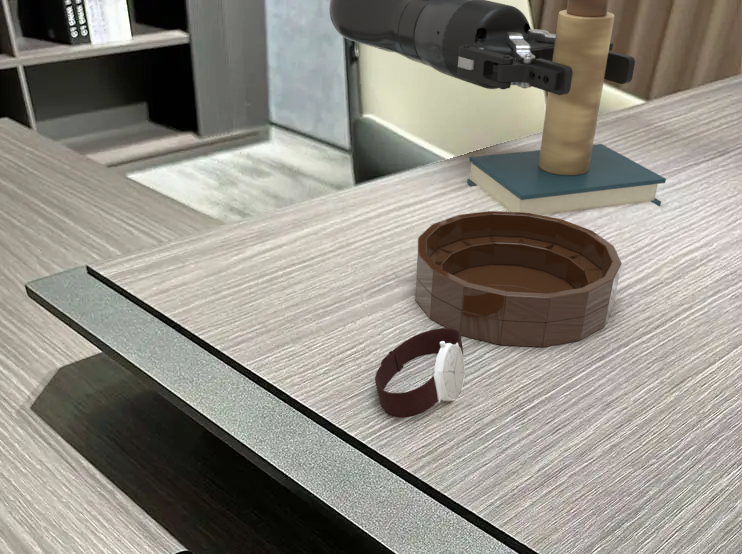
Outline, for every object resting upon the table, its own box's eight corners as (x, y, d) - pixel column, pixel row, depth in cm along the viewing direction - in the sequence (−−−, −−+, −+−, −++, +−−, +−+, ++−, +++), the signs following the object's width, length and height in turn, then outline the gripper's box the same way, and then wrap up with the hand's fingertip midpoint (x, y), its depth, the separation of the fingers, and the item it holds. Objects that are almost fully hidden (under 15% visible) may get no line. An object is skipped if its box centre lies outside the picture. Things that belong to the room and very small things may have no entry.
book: (597, 168, 80) (601, 143, 79) (660, 205, 72) (666, 178, 71) (466, 182, 76) (469, 157, 75) (518, 223, 68) (521, 195, 67)
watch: (433, 439, 43) (438, 382, 41) (354, 414, 45) (355, 359, 43) (480, 368, 49) (486, 315, 47) (408, 348, 51) (411, 297, 49)
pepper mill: (572, 157, 75) (599, -18, 68) (598, 173, 72) (630, -10, 64) (529, 161, 74) (552, -16, 66) (554, 177, 70) (581, -8, 63)
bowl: (546, 251, 64) (553, 203, 62) (649, 335, 53) (662, 280, 51) (387, 273, 60) (389, 223, 58) (463, 368, 49) (469, 310, 47)
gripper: (412, 4, 74) (541, 37, 62) (531, -8, 80) (668, 20, 68) (408, 88, 77) (529, 135, 65) (522, 70, 84) (651, 109, 72)
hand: (600, 76), depth 67 cm, fingers open, 6 cm apart
